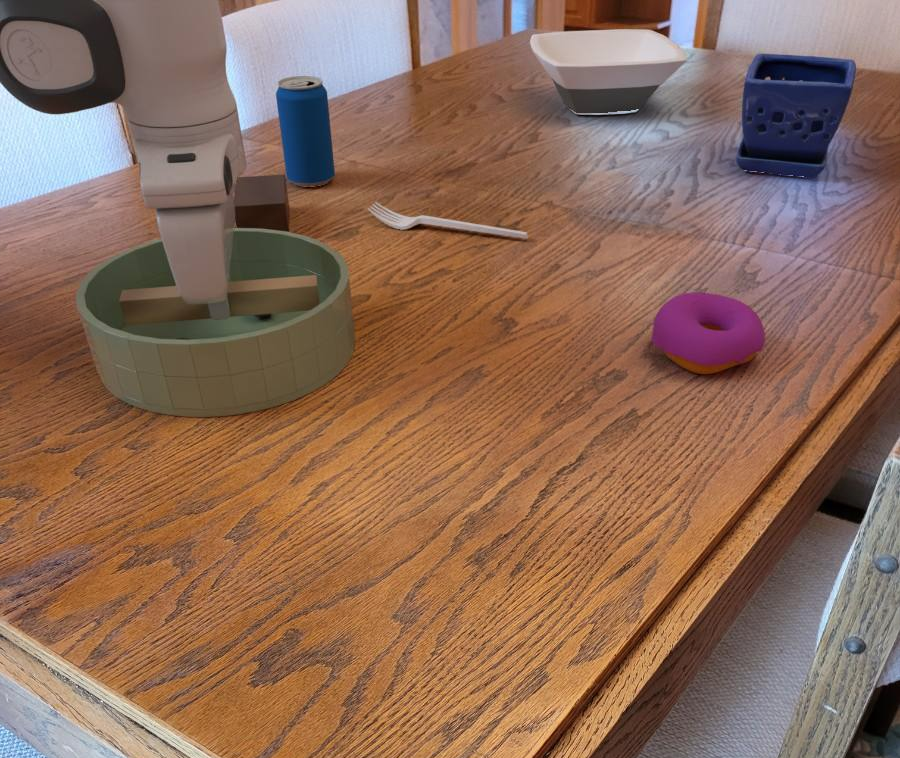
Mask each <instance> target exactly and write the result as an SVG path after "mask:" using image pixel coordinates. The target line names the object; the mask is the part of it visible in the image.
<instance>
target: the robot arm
mask: <svg viewBox="0 0 900 758" xmlns="http://www.w3.org/2000/svg"><path fill="white" fill-rule="evenodd" d="M227 50H228V47H227V39H226V33H225V28H224V23H223V17H222V12H221V8H220V3H219V0H0V84H1V85H2V86H3V88H4V89H5V90H6V91H7V93H9V94H10V95H11V96H12V97H13V98H14V99H16V100H17V101H19V102H20V103H22V104H23V105H25V106H26V107H28V108H30V109H31V110H34V111H36V112H40V113H42V114H47V115H65V114H74V113H78V112H81V111H86V110H90V109H95V108H98V107H102V106H104V105H107V104H112V103H113V104H118V105H119V106H121V107H122V108H123V110H124V112H125V116H126V120H127V124H128V127H129V128H128V129H129V133H130V136H131V140H132V145H133V148H134V153H135V158H136V162H137V166H138V169H139V184H140V191H141V195H142V199H143V203H144V205H145V207H146V208H147V209H150V210H151V209H152V210H153V209H154V211H155V212H154V213H155V218H156V224H157V228H158V230H159V235H160V239H162V242H163V245H164V249H165V252H166V255H167V258H168V261H169V265H170V268H171V271H172V274H173V277H174V280H175V283H176V286H177V289H178V291H179V293H180V295H181V297H182V298H183V300H184V301H185V303H187V304H208V308H209V312H210V316H211V318H212V319H214V320H222V319H228V318H229V317H230V310H231V308H230V303H229V297H228V294H227V288H228V282H231V280H230V261H231V252H232V243H233V233H234V228H235V225H236V221H235V206H234V195H233V193H235V188H236V187H235V186H236V180H237V178H238V177H240V176H241V175H243V173H244V172H245V171H246V169H247V166H248V165H247V159H246V152H245V145H244V140H243V135H242V129H241V124H240V117H239V111H238V104H237V100H236V98H235V95H234V93H233V90H232V89H231V86H230V83H229V81H228V80H229V79H228V73H227V52H228V51H227Z"/></svg>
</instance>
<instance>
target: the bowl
mask: <svg viewBox="0 0 900 758" xmlns="http://www.w3.org/2000/svg"><path fill="white" fill-rule="evenodd" d="M529 45H530V47H531V50H532V52H533V55H535V57H536V59H537V60H538V62H539V63H540V64H541V66H542V68H543V69H544V70H545V72H546V73H547V75H548V76H549V77H550V78H551V81H552V82H553V84H554V86H555V88H556V91H557V92H558V94H559V96H560V98H561V101H562V102H563V104H564V106H565V105H566V106H567V107H568V108H569V109H571V110H573V111H574V112H576V113H608V112H617V111H631V110H636V109H640V110H641V109H642V108H643V106H645V104H646V103H647V102H648V100H649V99H650V98H651V97H652V96H653V94H654V93H655V92H656V91H657V90H658V89H659V88H660V86H661V85H663V84H664V83H666V81H667V80H669V78H671V76H673V75H674V74H675V73H676V72H677V71H679V69H680V68H681V67H682V66H683V65H684V64H686V63H687V59H688V58H687V53H686V51H685V50H684V49H683V48H682V47H681V46H680V44H679V43H678V42H676V41H673V40H672V39H671V38H670V37H667V36H666V35H664V34H662V33H658V32H657V31H654V30H652V29H644V28H643V29H642V28H641V29H640V28H639V29H637V28H636V29H635V28H631V29H630V28H620V29H618V28H617V29H591V30H568V31H552V32H544V33H535V34H532V35H531V37H530V40H529ZM566 106H565V107H566ZM567 107H566V108H567ZM568 108H567V109H568ZM569 109H568V110H569Z"/></svg>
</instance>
